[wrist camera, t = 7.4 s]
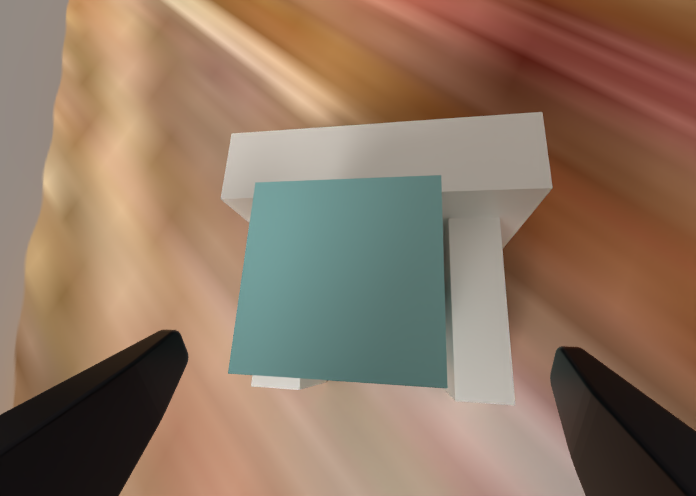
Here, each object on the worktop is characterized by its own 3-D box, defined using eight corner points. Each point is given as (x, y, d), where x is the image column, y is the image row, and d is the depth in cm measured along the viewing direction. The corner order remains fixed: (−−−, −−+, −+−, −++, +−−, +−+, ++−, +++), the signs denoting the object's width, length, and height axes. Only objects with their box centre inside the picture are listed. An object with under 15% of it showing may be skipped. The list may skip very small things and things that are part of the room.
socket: (514, 394, 16) (583, 420, 10) (269, 378, 18) (187, 389, 12) (497, 196, 19) (542, 111, 12) (288, 203, 21) (231, 133, 15)
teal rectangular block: (424, 368, 17) (447, 388, 6) (344, 363, 18) (228, 373, 7) (423, 260, 19) (439, 112, 7) (350, 259, 19) (263, 124, 8)
